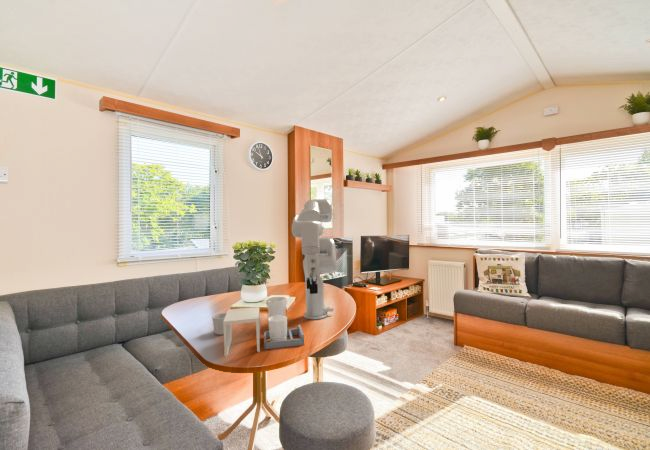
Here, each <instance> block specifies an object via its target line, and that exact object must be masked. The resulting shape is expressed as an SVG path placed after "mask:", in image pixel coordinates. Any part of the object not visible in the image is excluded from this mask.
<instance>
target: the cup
mask: <svg viewBox="0 0 650 450" xmlns="http://www.w3.org/2000/svg"><path fill="white" fill-rule="evenodd" d="M226 314H227V312H221V313H217V314H215V315H212V325H213V326H212V327H213V331H214V334H215V335H218V336H222V335H223V336H224V327H223V321H224V319H225V316H226Z"/></svg>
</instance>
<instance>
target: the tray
mask: <svg viewBox="0 0 650 450" xmlns="http://www.w3.org/2000/svg"><path fill="white" fill-rule="evenodd" d="M301 325H302V324H298V325H297V327H296V328H287V337H289V339H287V340H281V341H271V342H270V341H267V339H268V338H269V339H270V336H269V330H267V331H264V332H263V350H270V349H280V348H286V347H287V348H289V347H298V346H304V345H305V334H304V330H303V328H302V326H301ZM294 335H295V336H296V335H298V337H299V338H294V337H293V336H294Z"/></svg>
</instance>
